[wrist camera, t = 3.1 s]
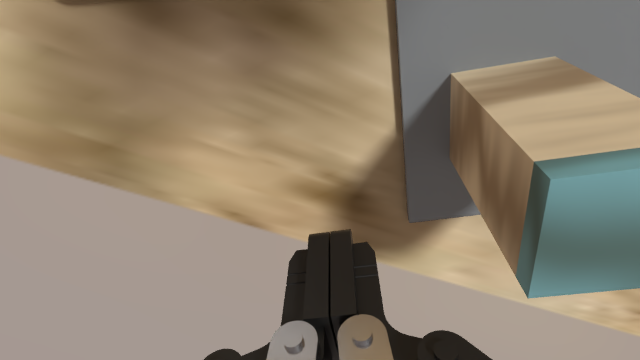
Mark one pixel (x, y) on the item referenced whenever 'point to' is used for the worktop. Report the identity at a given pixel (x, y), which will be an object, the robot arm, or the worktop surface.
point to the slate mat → (487, 51)
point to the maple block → (552, 172)
